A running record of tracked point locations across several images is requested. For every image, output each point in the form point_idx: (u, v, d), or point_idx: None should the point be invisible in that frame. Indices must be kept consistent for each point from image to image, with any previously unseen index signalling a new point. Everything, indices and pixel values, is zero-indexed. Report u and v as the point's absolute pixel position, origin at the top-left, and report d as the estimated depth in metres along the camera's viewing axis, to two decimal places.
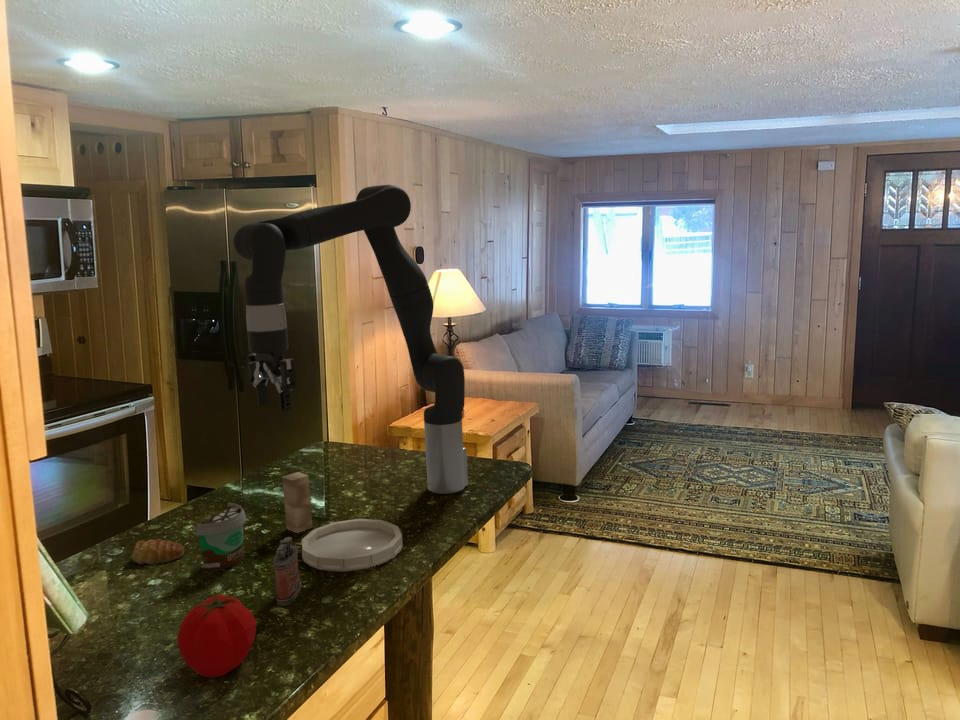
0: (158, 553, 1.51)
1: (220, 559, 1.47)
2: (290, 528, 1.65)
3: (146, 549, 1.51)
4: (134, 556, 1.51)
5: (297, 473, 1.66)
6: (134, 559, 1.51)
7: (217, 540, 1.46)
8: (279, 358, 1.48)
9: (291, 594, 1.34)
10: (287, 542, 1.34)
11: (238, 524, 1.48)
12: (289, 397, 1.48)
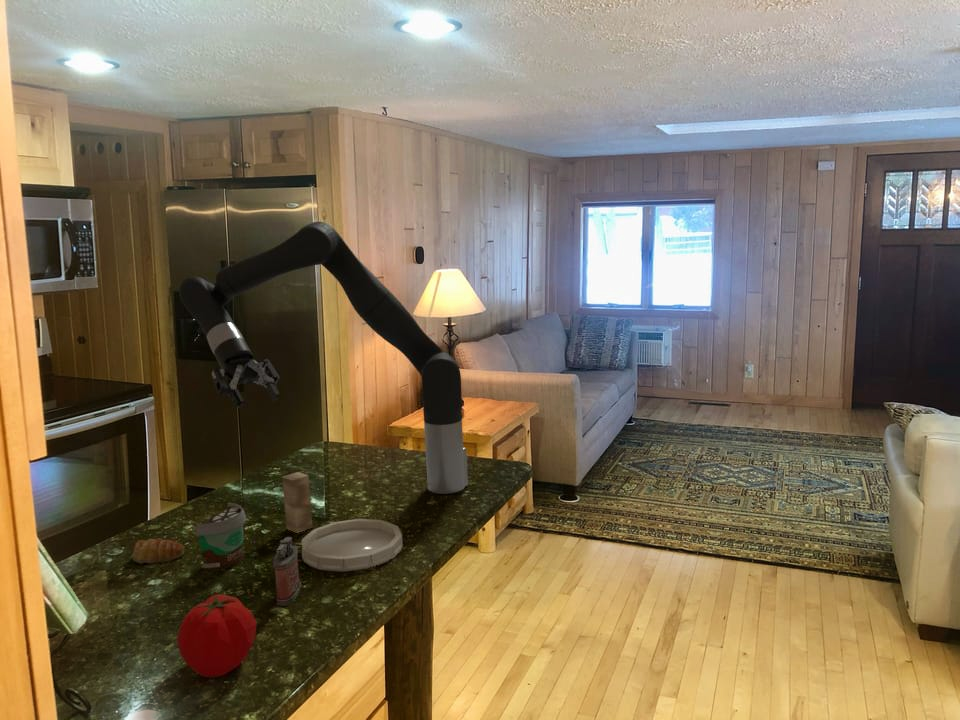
0: (159, 552, 1.52)
1: (220, 559, 1.47)
2: (290, 528, 1.65)
3: (146, 549, 1.52)
4: (134, 555, 1.51)
5: (297, 473, 1.66)
6: (134, 558, 1.51)
7: (217, 540, 1.46)
8: None
9: (291, 594, 1.34)
10: (287, 542, 1.34)
11: (238, 524, 1.48)
12: (232, 395, 1.67)
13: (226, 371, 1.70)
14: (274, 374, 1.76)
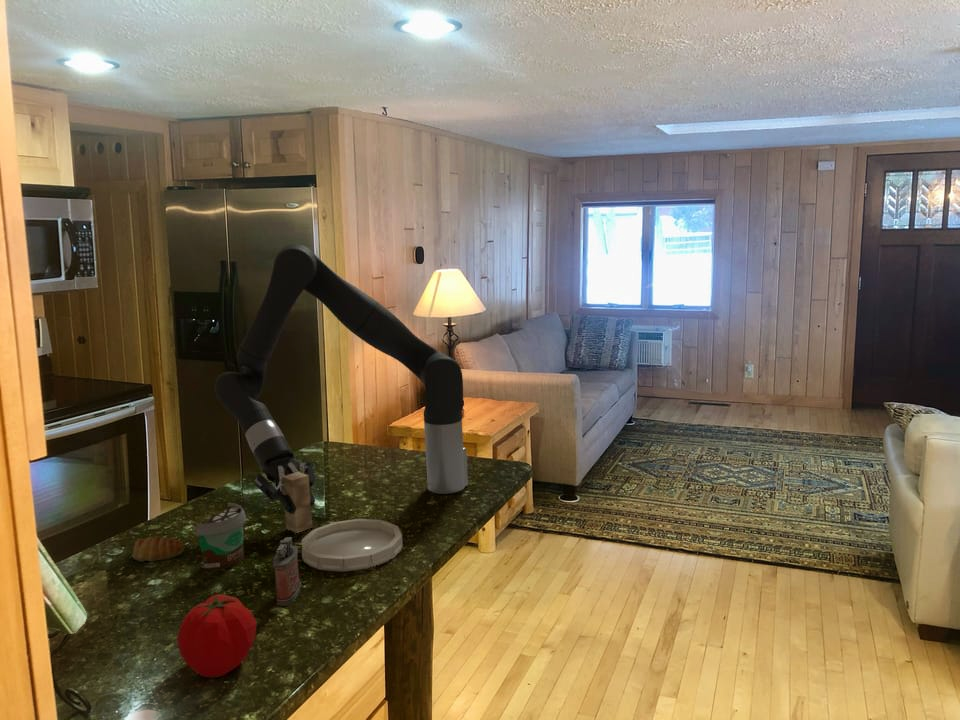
0: (159, 550, 1.53)
1: (220, 559, 1.47)
2: (290, 528, 1.65)
3: (147, 547, 1.53)
4: (135, 554, 1.52)
5: (297, 473, 1.66)
6: (135, 557, 1.52)
7: (217, 540, 1.46)
8: (264, 471, 1.65)
9: (291, 594, 1.34)
10: (287, 542, 1.34)
11: (238, 524, 1.48)
12: (284, 501, 1.62)
13: (268, 474, 1.64)
14: (310, 478, 1.68)
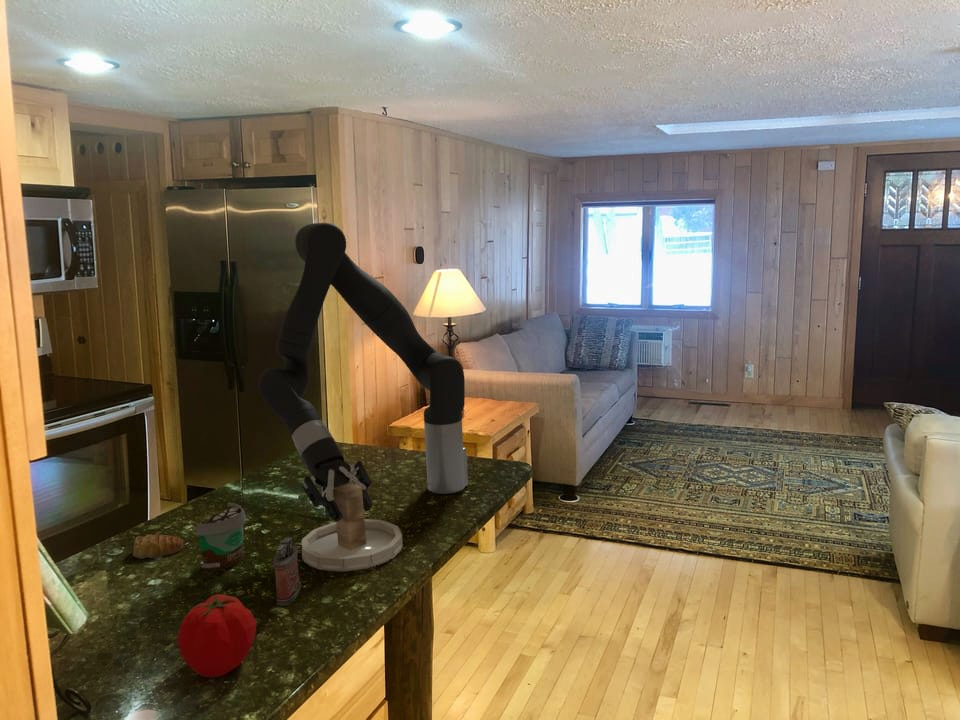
0: (160, 547, 1.54)
1: (220, 559, 1.47)
2: (342, 544, 1.53)
3: (147, 544, 1.54)
4: (135, 551, 1.53)
5: (349, 484, 1.54)
6: (135, 554, 1.53)
7: (217, 540, 1.46)
8: None
9: (291, 594, 1.34)
10: (287, 542, 1.34)
11: (238, 524, 1.48)
12: (329, 508, 1.49)
13: (317, 478, 1.52)
14: (366, 479, 1.57)
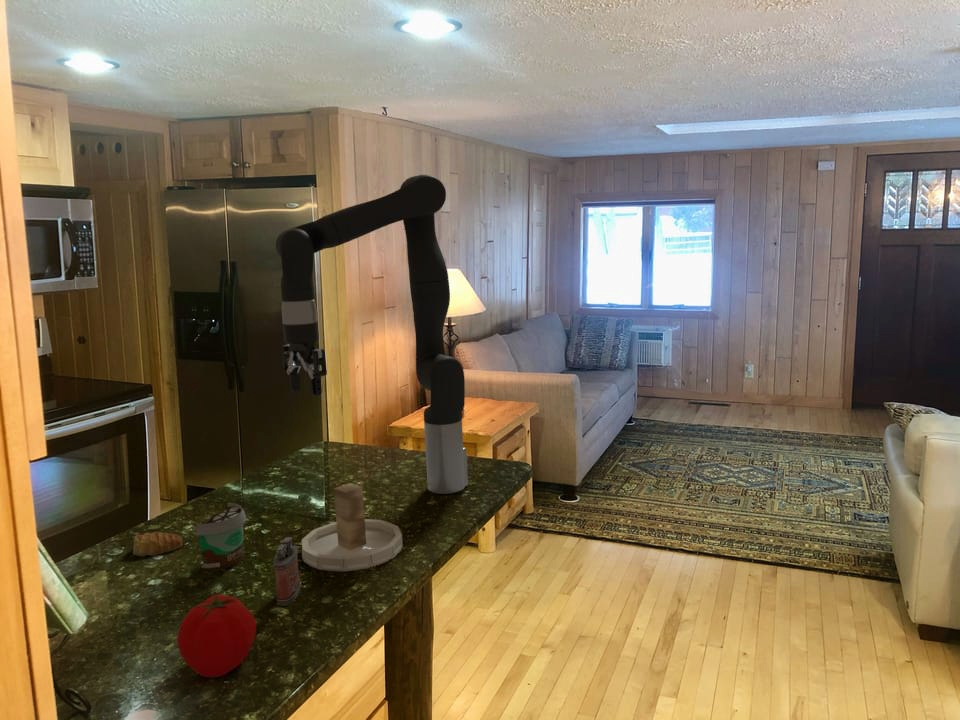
0: (160, 544, 1.56)
1: (220, 559, 1.47)
2: (342, 544, 1.53)
3: (147, 542, 1.55)
4: (135, 549, 1.54)
5: (349, 484, 1.54)
6: (135, 552, 1.54)
7: (217, 540, 1.46)
8: (311, 348, 1.67)
9: (291, 594, 1.34)
10: (287, 542, 1.34)
11: (238, 524, 1.48)
12: (320, 383, 1.67)
13: None
14: None
